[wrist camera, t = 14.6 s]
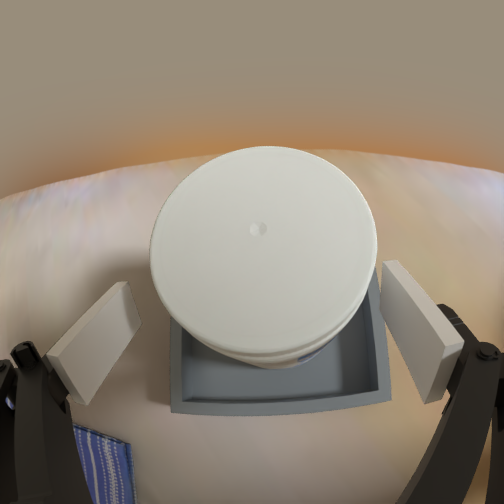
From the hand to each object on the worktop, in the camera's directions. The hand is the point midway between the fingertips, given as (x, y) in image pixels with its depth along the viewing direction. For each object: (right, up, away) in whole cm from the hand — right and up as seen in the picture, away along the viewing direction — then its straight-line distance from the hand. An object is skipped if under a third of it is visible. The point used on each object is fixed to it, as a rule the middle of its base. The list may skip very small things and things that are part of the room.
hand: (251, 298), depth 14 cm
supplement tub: (+2, -3, +10) cm, 11 cm away
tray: (+2, -3, +11) cm, 12 cm away
